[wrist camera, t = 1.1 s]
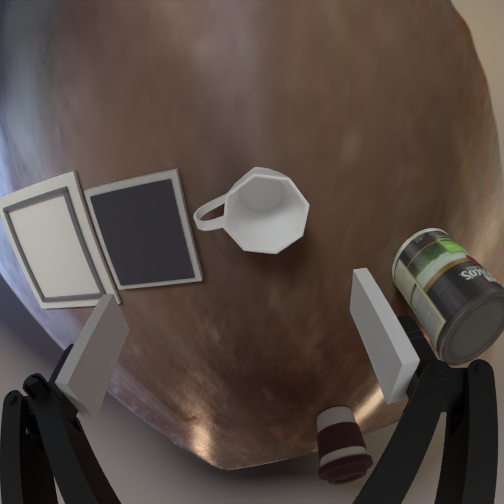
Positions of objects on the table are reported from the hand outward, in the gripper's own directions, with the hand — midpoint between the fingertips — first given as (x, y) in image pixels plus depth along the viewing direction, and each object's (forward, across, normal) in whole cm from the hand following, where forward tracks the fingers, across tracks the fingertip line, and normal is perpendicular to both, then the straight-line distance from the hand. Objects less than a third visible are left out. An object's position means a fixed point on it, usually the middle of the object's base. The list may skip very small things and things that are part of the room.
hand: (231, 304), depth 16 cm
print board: (+17, -25, -3) cm, 31 cm away
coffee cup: (+18, +13, -45) cm, 50 cm away
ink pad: (+17, -11, -2) cm, 21 cm away
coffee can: (+18, +23, -11) cm, 31 cm away
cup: (+18, +1, +1) cm, 18 cm away
